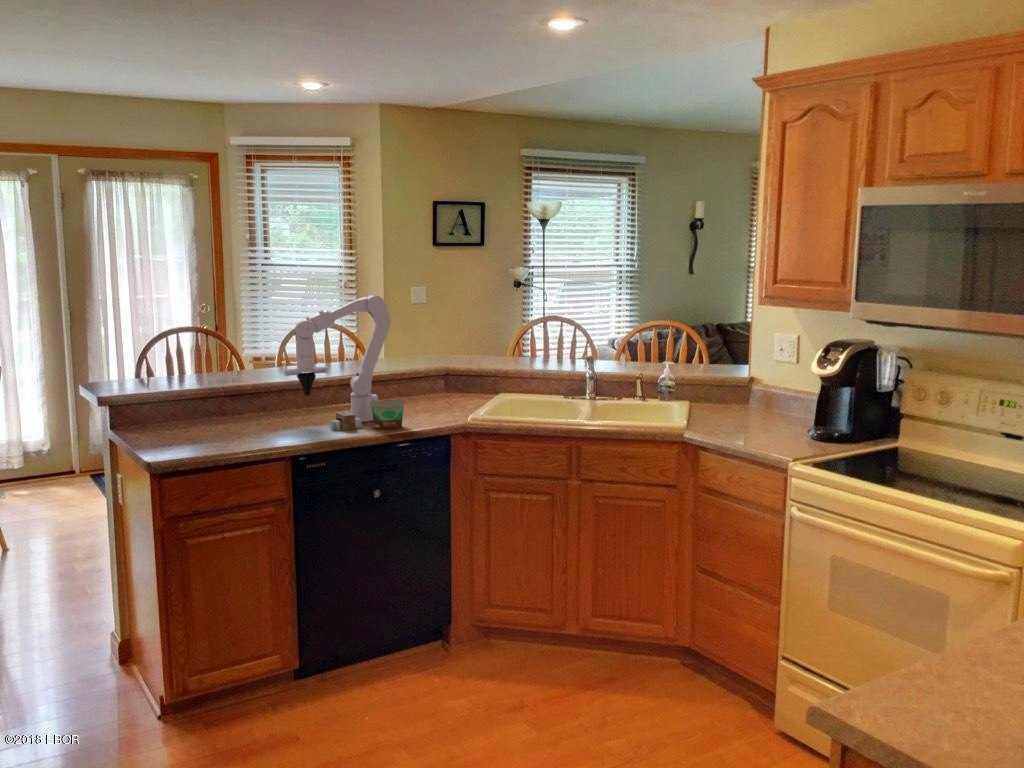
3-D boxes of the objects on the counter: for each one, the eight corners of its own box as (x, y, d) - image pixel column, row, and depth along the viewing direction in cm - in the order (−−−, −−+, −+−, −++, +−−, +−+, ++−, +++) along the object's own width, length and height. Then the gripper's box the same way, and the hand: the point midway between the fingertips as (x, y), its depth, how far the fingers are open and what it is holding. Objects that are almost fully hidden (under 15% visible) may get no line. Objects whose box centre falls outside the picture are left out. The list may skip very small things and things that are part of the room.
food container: (376, 432, 285) (375, 402, 283) (370, 429, 290) (369, 399, 289) (411, 428, 290) (410, 399, 289) (404, 425, 296) (404, 396, 294)
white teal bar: (358, 426, 295) (358, 417, 295) (361, 427, 293) (361, 419, 293) (330, 429, 290) (330, 420, 290) (333, 430, 288) (332, 422, 288)
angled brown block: (347, 425, 296) (346, 410, 295) (355, 429, 289) (355, 414, 289) (336, 426, 294) (335, 412, 293) (344, 430, 287) (343, 416, 287)
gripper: (287, 358, 289) (289, 398, 291) (329, 355, 296) (331, 395, 298) (281, 356, 295) (283, 395, 297) (323, 353, 302) (324, 392, 304)
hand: (307, 395), depth 298 cm, fingers closed
